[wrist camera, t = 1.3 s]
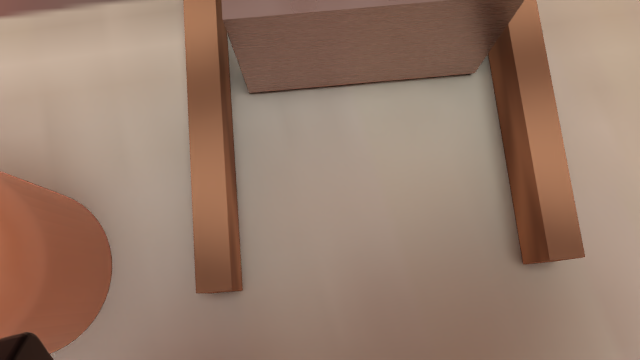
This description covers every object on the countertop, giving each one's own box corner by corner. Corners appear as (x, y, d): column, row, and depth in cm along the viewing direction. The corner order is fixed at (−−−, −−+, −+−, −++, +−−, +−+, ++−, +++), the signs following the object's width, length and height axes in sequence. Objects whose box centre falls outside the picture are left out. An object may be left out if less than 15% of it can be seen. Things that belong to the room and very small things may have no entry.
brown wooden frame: (554, 261, 21) (667, 245, 14) (211, 293, 21) (155, 293, 14) (499, -45, 24) (572, -183, 17) (196, -19, 23) (143, -149, 17)
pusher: (474, 73, 22) (529, -7, 16) (249, 92, 22) (222, 19, 16) (466, 23, 23) (517, -72, 17) (246, 42, 22) (218, -47, 17)
